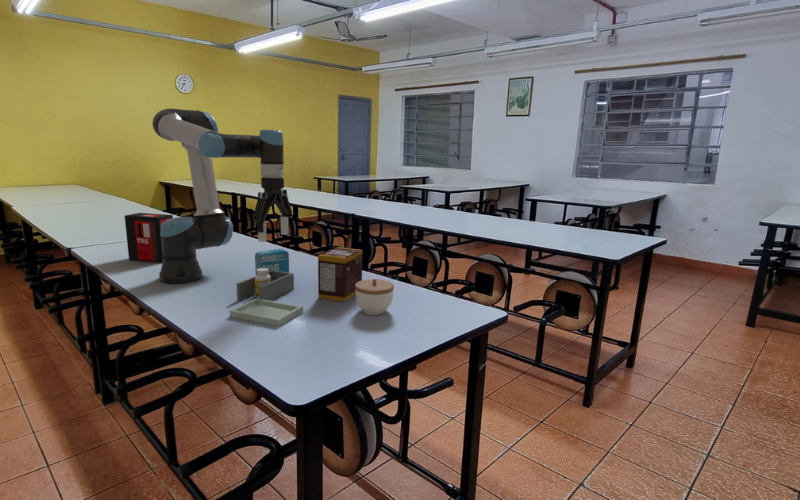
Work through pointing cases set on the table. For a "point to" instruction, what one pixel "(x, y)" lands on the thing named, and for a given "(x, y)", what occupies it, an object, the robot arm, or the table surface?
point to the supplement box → (339, 273)
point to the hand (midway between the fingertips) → (274, 238)
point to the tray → (266, 312)
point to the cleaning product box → (145, 236)
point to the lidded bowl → (374, 295)
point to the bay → (267, 286)
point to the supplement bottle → (261, 279)
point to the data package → (272, 260)
